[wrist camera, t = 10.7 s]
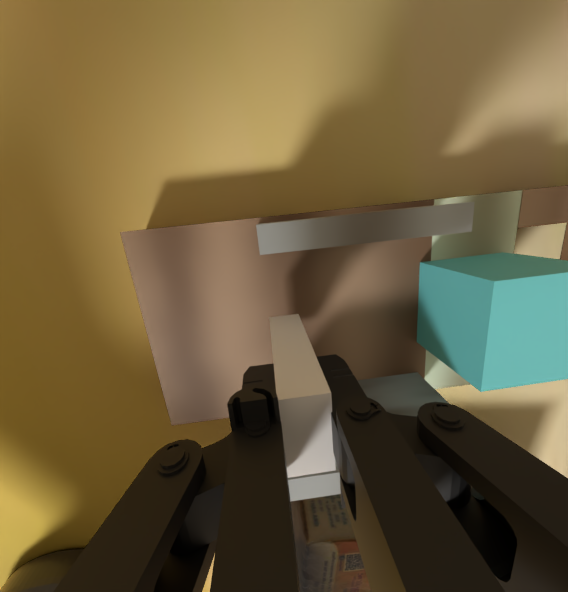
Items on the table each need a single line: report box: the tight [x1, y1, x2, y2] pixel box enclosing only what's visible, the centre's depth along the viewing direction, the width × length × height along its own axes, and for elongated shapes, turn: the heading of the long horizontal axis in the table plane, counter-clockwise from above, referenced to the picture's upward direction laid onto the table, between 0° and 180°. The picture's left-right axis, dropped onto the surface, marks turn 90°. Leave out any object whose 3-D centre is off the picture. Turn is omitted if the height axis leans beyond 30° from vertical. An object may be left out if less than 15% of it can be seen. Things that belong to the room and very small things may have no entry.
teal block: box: [417, 252, 568, 392], centre depth 13 cm, size 5×5×5 cm
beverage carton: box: [291, 494, 372, 592], centre depth 21 cm, size 8×19×7 cm, turn 88°
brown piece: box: [120, 185, 568, 501], centre depth 14 cm, size 29×12×9 cm, turn 96°
